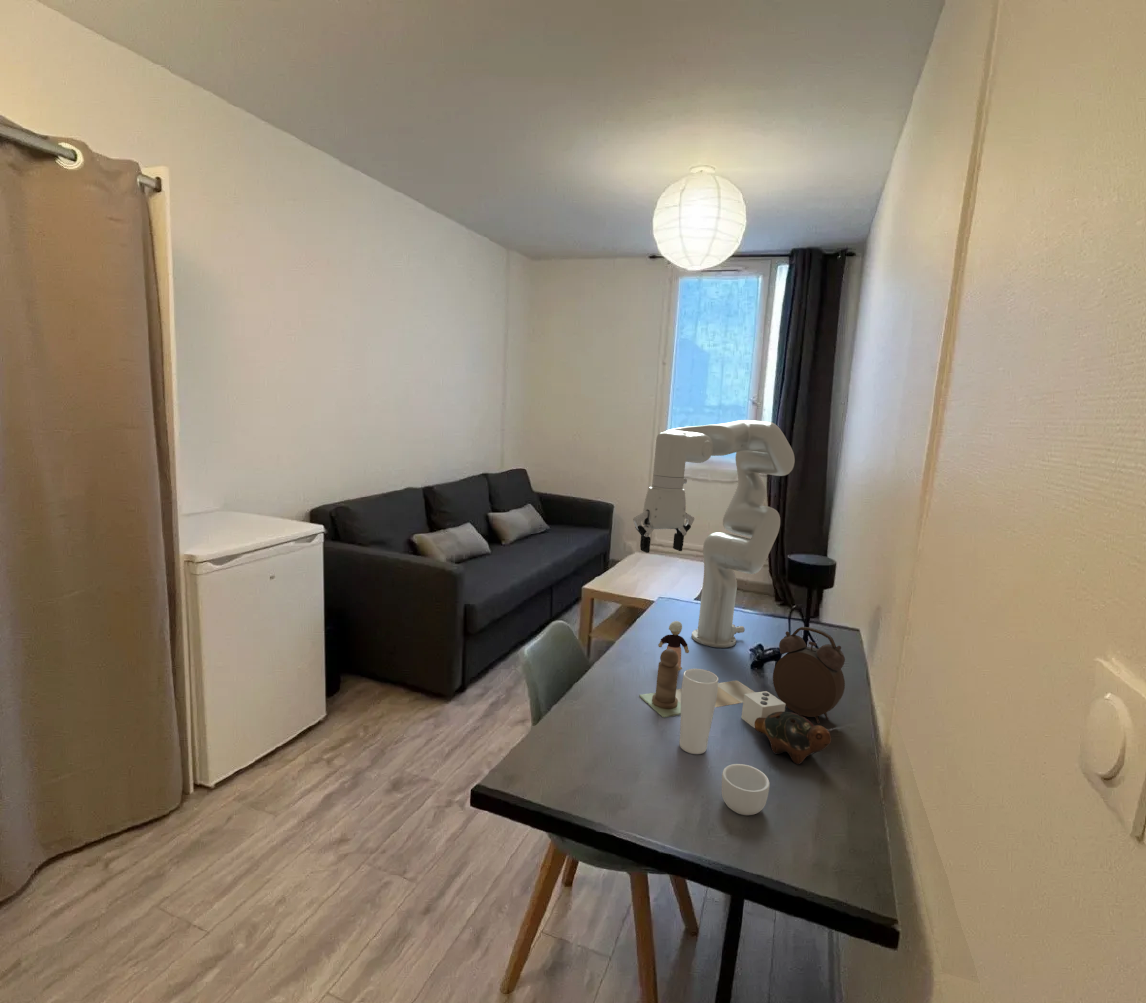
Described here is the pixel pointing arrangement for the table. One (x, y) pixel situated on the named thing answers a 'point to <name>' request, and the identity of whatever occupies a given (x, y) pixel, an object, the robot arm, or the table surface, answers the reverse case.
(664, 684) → the pawn
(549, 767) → the table surface
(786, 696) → the alarm clock
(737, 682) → the track board
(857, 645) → the table surface
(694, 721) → the drinking glass
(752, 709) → the die
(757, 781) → the teacup
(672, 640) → the grandmother figurine
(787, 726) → the decorative turtle
